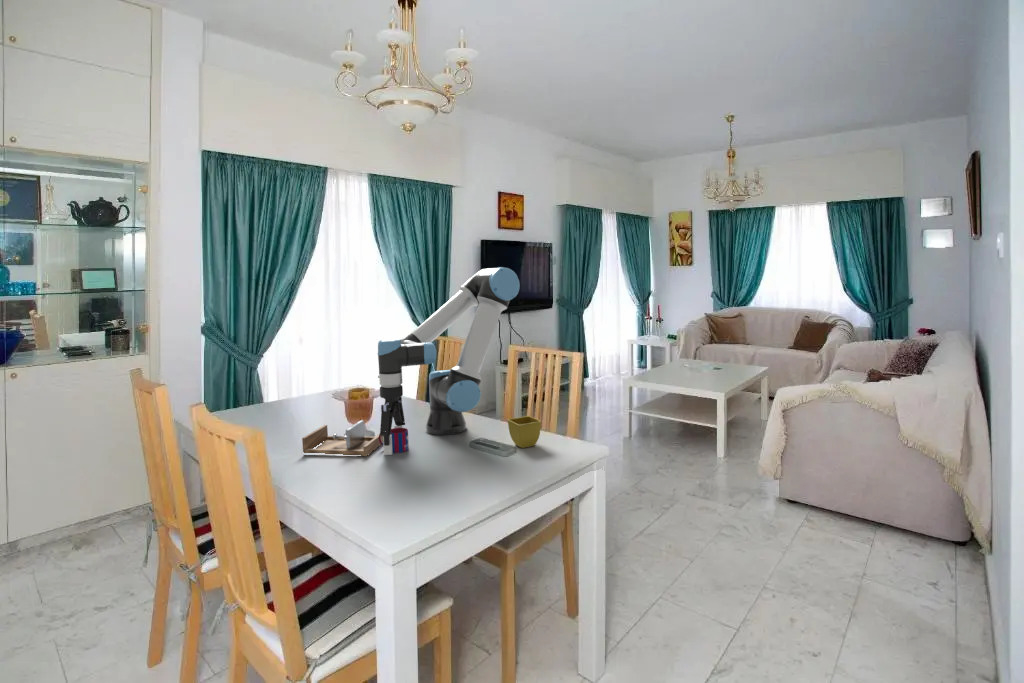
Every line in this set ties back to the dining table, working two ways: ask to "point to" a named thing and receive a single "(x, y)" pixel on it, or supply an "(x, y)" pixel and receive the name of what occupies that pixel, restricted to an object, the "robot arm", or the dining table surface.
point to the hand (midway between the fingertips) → (393, 449)
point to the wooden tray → (337, 444)
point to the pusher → (353, 435)
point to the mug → (398, 440)
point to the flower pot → (524, 431)
